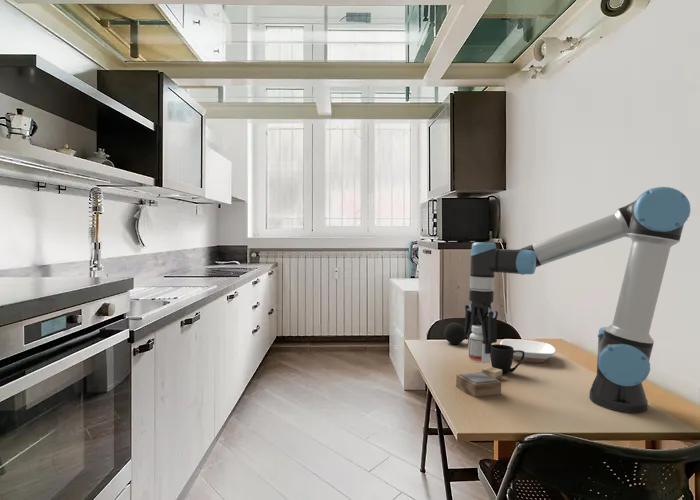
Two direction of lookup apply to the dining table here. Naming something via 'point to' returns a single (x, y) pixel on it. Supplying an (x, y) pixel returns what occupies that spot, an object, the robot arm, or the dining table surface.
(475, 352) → the pill bottle
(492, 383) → the walnut stand
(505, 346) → the mug
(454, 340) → the speaker
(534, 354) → the bowl
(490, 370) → the oak offcut
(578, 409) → the dining table surface
